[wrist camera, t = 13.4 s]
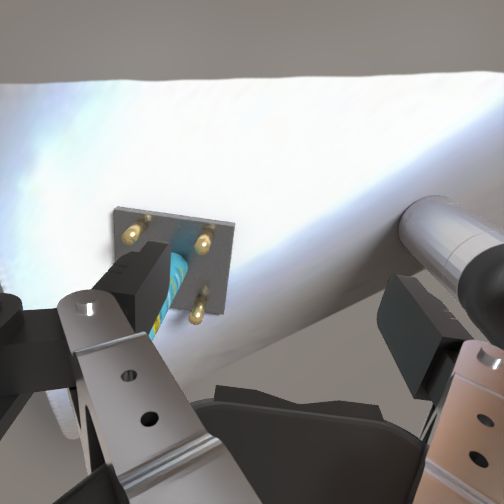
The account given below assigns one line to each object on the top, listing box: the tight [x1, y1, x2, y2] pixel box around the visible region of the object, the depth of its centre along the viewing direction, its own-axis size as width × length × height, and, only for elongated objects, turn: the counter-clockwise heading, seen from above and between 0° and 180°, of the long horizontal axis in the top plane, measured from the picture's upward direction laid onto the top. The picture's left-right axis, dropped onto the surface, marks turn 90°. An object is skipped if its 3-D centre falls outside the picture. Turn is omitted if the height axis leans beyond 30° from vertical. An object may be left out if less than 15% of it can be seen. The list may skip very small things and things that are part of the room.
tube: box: [149, 252, 188, 341], centre depth 45 cm, size 7×5×19 cm, turn 5°
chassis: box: [114, 206, 235, 325], centre depth 52 cm, size 18×16×6 cm
